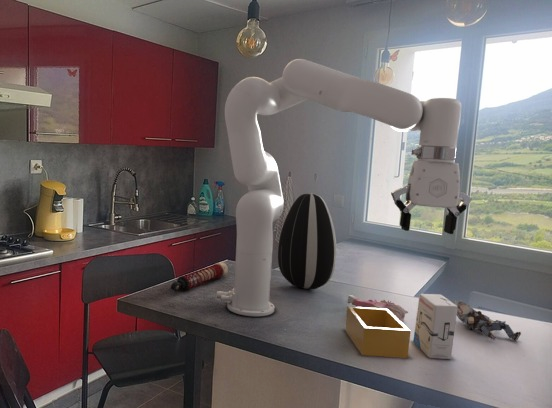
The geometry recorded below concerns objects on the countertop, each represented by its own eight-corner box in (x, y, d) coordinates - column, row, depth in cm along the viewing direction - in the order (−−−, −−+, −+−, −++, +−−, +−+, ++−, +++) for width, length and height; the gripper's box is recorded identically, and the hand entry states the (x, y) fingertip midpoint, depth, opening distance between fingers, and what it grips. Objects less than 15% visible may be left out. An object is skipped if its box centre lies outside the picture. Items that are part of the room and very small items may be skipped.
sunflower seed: (337, 290, 143) (345, 195, 139) (327, 297, 134) (336, 197, 131) (282, 278, 152) (288, 190, 149) (269, 285, 144) (276, 191, 140)
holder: (361, 355, 96) (364, 327, 95) (345, 330, 109) (347, 306, 108) (407, 358, 95) (410, 330, 95) (385, 332, 109) (387, 308, 108)
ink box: (412, 341, 104) (417, 292, 103) (434, 343, 104) (439, 293, 103) (428, 358, 96) (434, 304, 94) (452, 360, 96) (459, 306, 94)
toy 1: (340, 313, 122) (396, 337, 113) (344, 294, 120) (401, 316, 111) (353, 302, 128) (407, 323, 119) (356, 283, 126) (412, 304, 117)
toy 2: (486, 337, 104) (437, 306, 118) (508, 358, 109) (459, 326, 123) (505, 314, 104) (454, 286, 118) (527, 336, 109) (476, 306, 122)
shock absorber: (181, 285, 127) (235, 264, 152) (169, 275, 129) (224, 257, 154) (175, 298, 129) (229, 276, 154) (164, 289, 131) (219, 269, 156)
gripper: (402, 152, 97) (393, 231, 99) (485, 158, 96) (474, 237, 98) (390, 152, 105) (382, 226, 107) (467, 158, 104) (457, 231, 106)
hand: (426, 231), depth 102 cm, fingers open, 9 cm apart
